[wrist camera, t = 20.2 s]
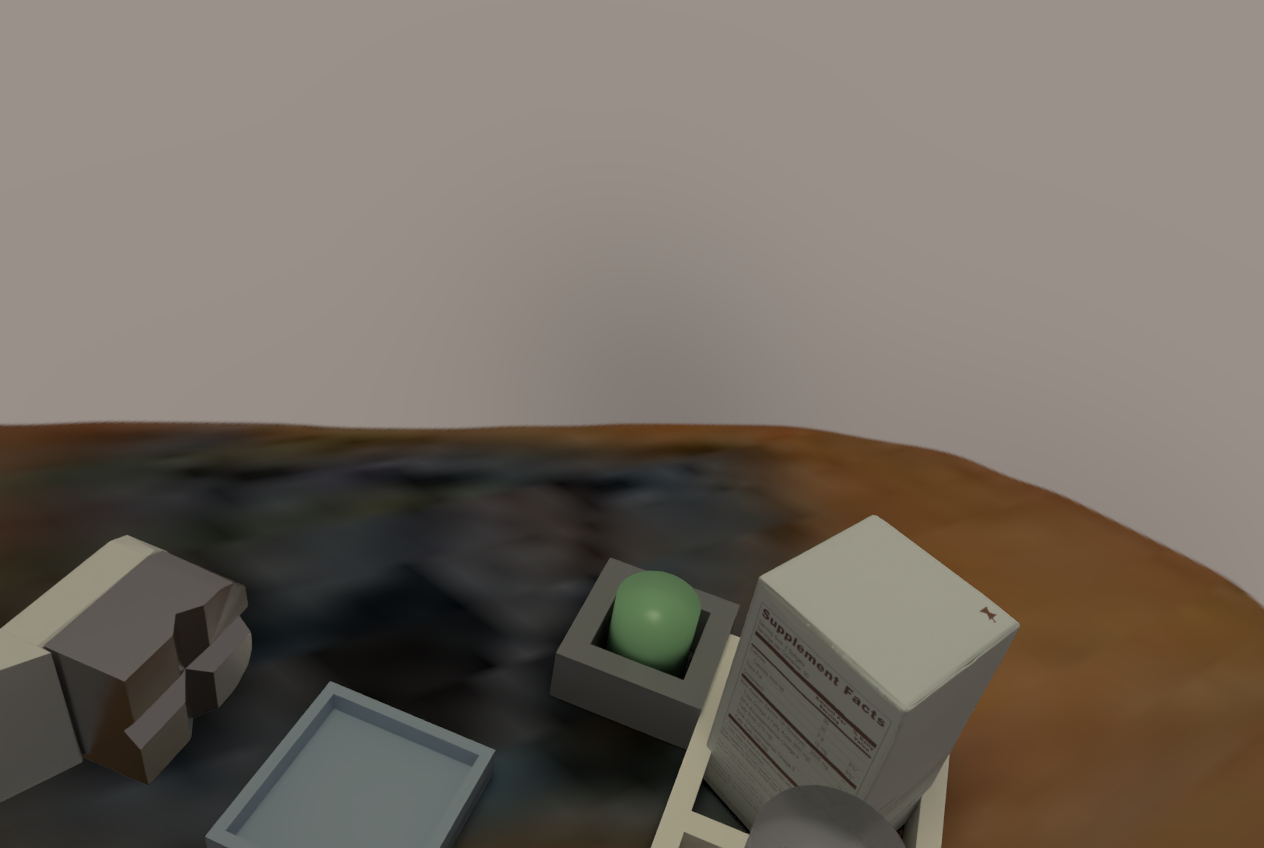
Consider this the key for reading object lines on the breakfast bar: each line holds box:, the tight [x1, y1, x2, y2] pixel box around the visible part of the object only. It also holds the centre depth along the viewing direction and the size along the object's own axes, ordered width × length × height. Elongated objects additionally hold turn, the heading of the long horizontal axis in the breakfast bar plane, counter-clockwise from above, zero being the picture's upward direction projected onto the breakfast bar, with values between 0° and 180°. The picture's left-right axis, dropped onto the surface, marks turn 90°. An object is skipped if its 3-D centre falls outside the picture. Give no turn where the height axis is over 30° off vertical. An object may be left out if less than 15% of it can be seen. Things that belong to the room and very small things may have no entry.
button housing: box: [549, 558, 740, 750], centre depth 47 cm, size 7×7×3 cm
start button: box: [605, 571, 701, 679], centre depth 46 cm, size 4×4×4 cm
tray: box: [205, 681, 495, 848], centre depth 39 cm, size 8×8×2 cm
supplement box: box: [703, 515, 1020, 832], centre depth 39 cm, size 7×7×13 cm
